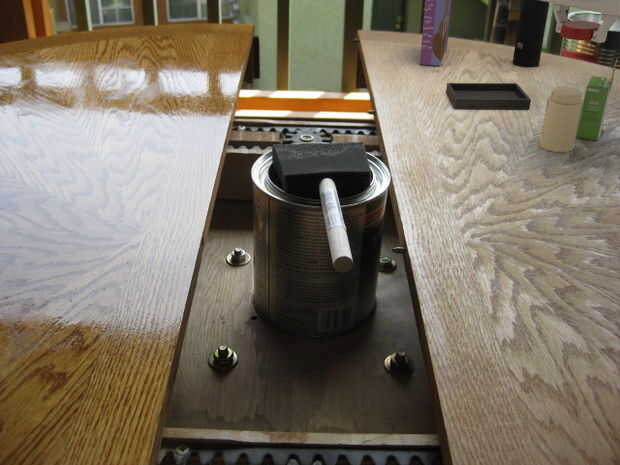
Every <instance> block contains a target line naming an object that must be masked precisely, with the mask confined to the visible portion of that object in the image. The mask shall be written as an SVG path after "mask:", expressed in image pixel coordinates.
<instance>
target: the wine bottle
mask: <svg viewBox="0 0 620 465" xmlns="http://www.w3.org/2000/svg"><path fill="white" fill-rule="evenodd" d="M549 8H550V2H545V1H541V0H521V5H520V10H519V15H518V16H519V17H518V23H517V29H516V35H515V36H516V37H515V43H514V50H513V55H512V64H513V65H514V66H518V67H523V68H534V67H539V65H540V62H541V57H542V50H543V44H544V38H545V34H546V33H545V32H546V27H547V21H548V15H549Z"/></svg>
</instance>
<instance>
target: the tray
mask: <svg viewBox="0 0 620 465" xmlns="http://www.w3.org/2000/svg"><path fill="white" fill-rule="evenodd" d="M445 88H446V90H445V93H446V95H447V96H448V99H449V101H450V103H451V104H452V107H453V109H454V110H530V107H531V103H532V102H531V101H532V99H531V98H530V97H529V95H528V94H527V93H526V92H525V91H524V89H522V87H521V86H520V85H519V83H517V82H446V87H445Z"/></svg>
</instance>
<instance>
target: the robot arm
mask: <svg viewBox="0 0 620 465" xmlns="http://www.w3.org/2000/svg"><path fill="white" fill-rule="evenodd" d="M541 1H545V2H549V4H550V3H551V4H553V7H552V12H553V14H554V18H555V22H556V26H555V33H558V34H560V32H561V26H562V24H563V23H564V22H566V21H568V17H567V12H566V11H568V10H569V8H575V9H580V10H585V11H590V12H593V13H599V14H601V15H600V21H602V22H601V24H600V25H601V26H600V27H599V28H598V29H597V30H593V31H592V37H591V40H590V41H591V42H594V43H598V44H601V43H605V42H606V40H607V36H608V32H609V31H610V29H611V28H612V27H613V26H614V24H616V22H617V21H618V18H620V0H541Z"/></svg>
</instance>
